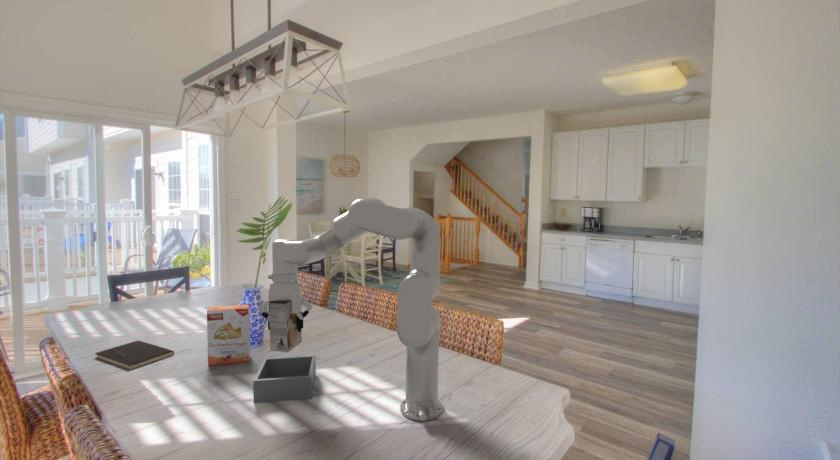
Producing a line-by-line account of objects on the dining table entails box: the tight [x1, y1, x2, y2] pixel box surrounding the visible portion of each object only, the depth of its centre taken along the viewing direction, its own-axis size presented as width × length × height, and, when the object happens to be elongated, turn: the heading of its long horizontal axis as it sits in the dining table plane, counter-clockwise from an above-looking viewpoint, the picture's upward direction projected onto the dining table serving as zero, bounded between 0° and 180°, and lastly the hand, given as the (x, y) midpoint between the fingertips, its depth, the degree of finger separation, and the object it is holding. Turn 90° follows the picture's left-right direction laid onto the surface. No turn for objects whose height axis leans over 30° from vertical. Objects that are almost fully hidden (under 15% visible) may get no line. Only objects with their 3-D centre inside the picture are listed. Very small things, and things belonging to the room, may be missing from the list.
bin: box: [252, 355, 317, 404], centre depth 131 cm, size 17×17×7 cm
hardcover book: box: [94, 339, 175, 370], centre depth 156 cm, size 16×23×2 cm
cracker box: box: [206, 304, 251, 366], centre depth 151 cm, size 14×6×21 cm, turn 106°
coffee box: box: [268, 301, 303, 353], centre depth 130 cm, size 9×6×16 cm
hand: (285, 331), depth 130 cm, fingers closed on coffee box, 8 cm apart
